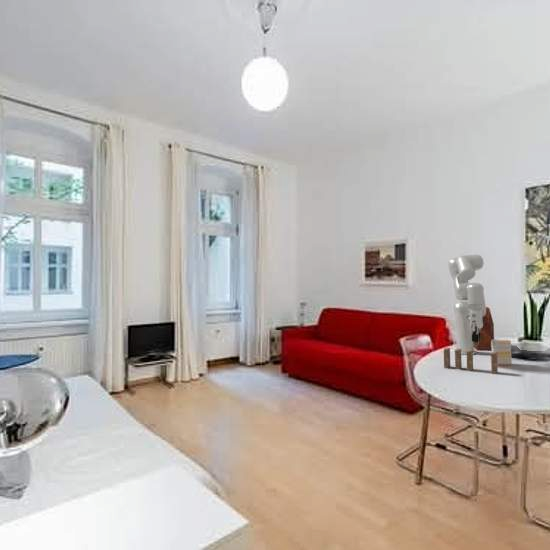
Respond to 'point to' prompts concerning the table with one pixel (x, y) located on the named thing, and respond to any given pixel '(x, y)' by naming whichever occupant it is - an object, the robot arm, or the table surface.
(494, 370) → the domino
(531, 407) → the table surface
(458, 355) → the domino
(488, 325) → the handbag
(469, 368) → the domino
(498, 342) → the supplement box
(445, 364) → the domino
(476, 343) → the domino
